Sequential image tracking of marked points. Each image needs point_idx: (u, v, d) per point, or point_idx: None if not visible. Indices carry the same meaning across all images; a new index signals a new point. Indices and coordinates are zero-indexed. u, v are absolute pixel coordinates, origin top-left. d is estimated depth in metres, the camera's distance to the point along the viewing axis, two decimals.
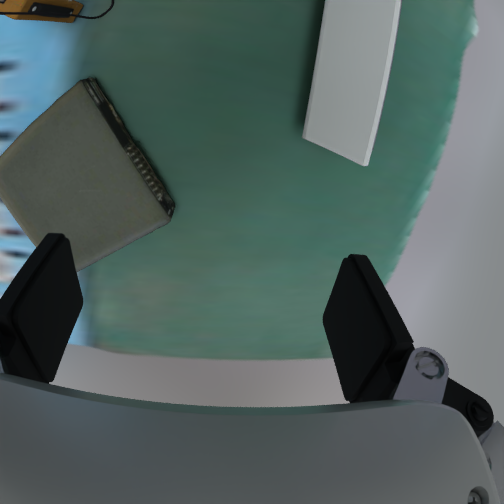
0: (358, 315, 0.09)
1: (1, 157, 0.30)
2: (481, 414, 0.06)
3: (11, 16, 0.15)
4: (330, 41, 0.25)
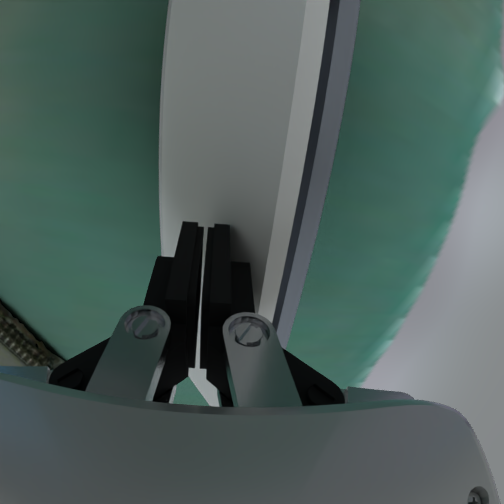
0: None
1: None
2: (319, 400, 0.06)
3: None
4: (171, 222, 0.15)
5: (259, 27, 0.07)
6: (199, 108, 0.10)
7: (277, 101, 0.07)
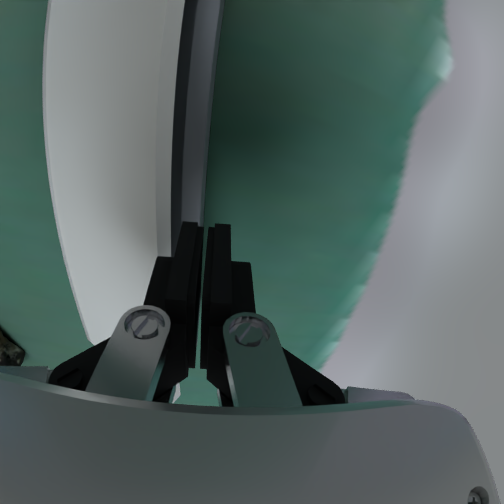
0: None
1: None
2: (320, 400, 0.06)
3: None
4: (66, 213, 0.14)
5: (128, 29, 0.08)
6: (80, 104, 0.10)
7: (146, 85, 0.09)
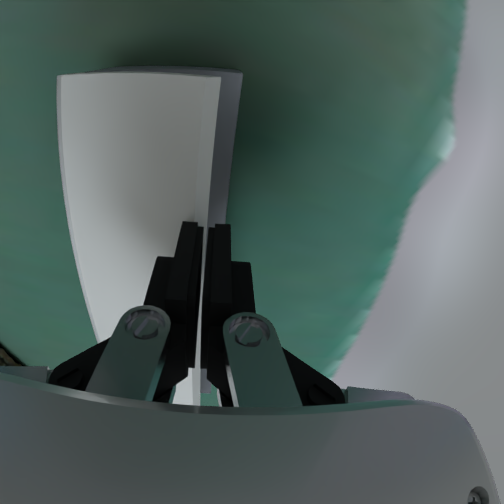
0: None
1: None
2: (320, 400, 0.06)
3: None
4: (99, 307, 0.17)
5: (157, 195, 0.11)
6: (111, 237, 0.13)
7: None
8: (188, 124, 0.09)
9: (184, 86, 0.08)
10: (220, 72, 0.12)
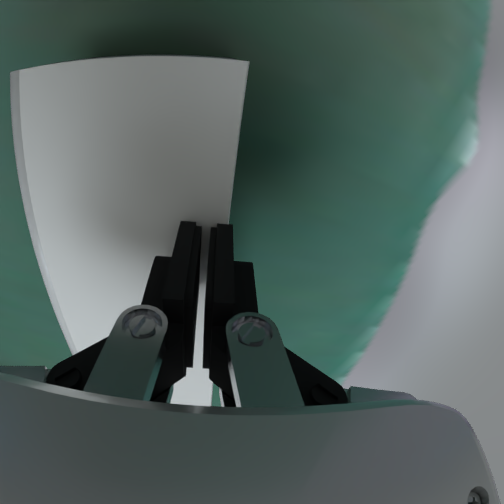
0: None
1: None
2: (323, 400, 0.06)
3: None
4: (86, 335, 0.15)
5: (179, 189, 0.10)
6: (107, 250, 0.11)
7: None
8: (225, 109, 0.08)
9: (220, 70, 0.08)
10: None
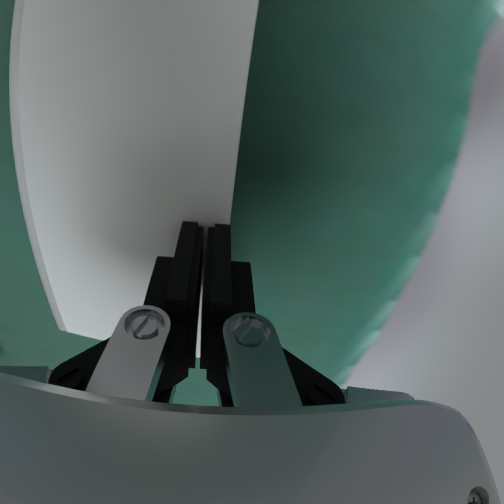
0: None
1: None
2: (320, 400, 0.06)
3: None
4: (41, 109, 0.08)
5: None
6: None
7: None
8: None
9: None
10: None
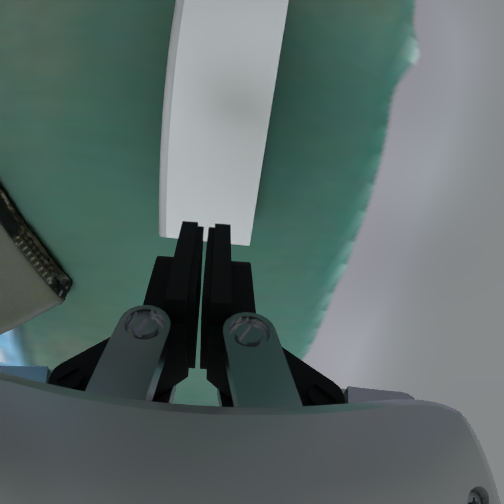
0: None
1: None
2: (320, 400, 0.06)
3: None
4: (183, 121, 0.24)
5: (262, 26, 0.20)
6: (220, 55, 0.21)
7: (273, 51, 0.21)
8: None
9: None
10: None
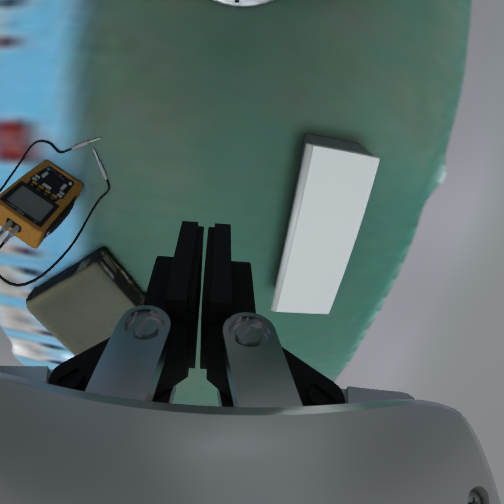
0: None
1: (37, 298, 0.44)
2: (320, 400, 0.06)
3: (32, 247, 0.29)
4: (300, 247, 0.40)
5: (358, 189, 0.35)
6: (329, 208, 0.37)
7: (362, 206, 0.37)
8: (373, 170, 0.34)
9: (373, 160, 0.33)
10: (365, 153, 0.34)
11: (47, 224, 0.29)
